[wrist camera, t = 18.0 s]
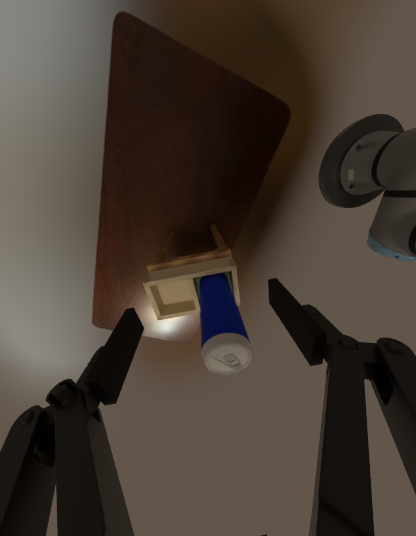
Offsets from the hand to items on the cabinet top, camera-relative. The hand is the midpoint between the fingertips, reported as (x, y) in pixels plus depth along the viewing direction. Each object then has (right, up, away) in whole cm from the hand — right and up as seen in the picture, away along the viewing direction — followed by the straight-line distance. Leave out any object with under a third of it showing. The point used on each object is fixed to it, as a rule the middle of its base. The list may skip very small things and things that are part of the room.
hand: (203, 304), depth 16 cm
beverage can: (+2, +1, +14) cm, 14 cm away
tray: (-2, +1, +15) cm, 15 cm away
